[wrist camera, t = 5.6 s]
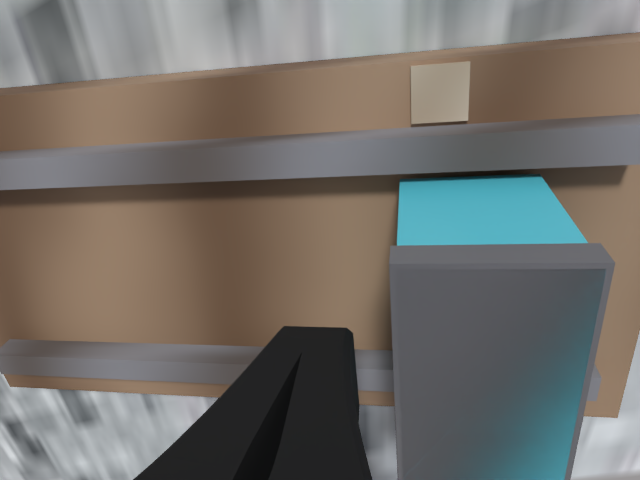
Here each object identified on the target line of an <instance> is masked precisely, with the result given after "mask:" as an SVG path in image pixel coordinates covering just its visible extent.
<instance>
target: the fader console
mask: <svg viewBox="0 0 640 480" xmlns="http://www.w3.org/2000/svg"><path fill="white" fill-rule="evenodd" d="M521 174H540V175H541V176H542V178H543V179H544V181H545V182H546V183H547V185H548V186H549V188H550V189H551V190H552V192H553V193H554V195H555V196H556V198H557V199H558V200H559V202H560V203H561V205H562V206H563V208H564V209H565V210H566V212H567V213H568V215H569V216H570V218H571V219H572V220H573V222H574V223H575V225H576V226H577V228H578V229H579V230H580V232H581V233H582V235H583V236H584V237H585V239H586V240H587V242H588V243H601V244H602V246H603V247H604V248H605V250H606V251H607V252H608V254H609V255H610V256H611V258H612V259H613V260H614V262H615V267H614V272H613V277H612V282H611V286H610V291H609V296H608V301H607V306H606V310H605V315H604V320H603V325H602V329H601V334H600V339H599V344H598V349H597V353H596V358H595V363H594V368H593V373H592V377H591V382H590V387H589V392H588V397H587V401H586V406H585V411H584V416H591V417H611V418H617V417H618V413H619V409H620V405H621V401H622V398H623V394H624V390H625V386H626V382H627V378H628V374H629V370H630V366H631V362H632V358H633V354H634V350H635V346H636V342H637V339H638V335H639V331H640V32H638V33H627V34H616V35H604V36H593V37H581V38H570V39H559V40H547V41H536V42H524V43H513V44H501V45H490V46H479V47H467V48H456V49H444V50H433V51H422V52H410V53H399V54H387V55H376V56H365V57H353V58H342V59H330V60H319V61H308V62H296V63H285V64H273V65H262V66H250V67H239V68H228V69H216V70H205V71H193V72H182V73H171V74H159V75H148V76H136V77H125V78H114V79H102V80H91V81H79V82H68V83H57V84H45V85H34V86H22V87H11V88H0V372H1V374H4V376H5V378H6V380H7V382H8V384H9V385H10V387H28V388H47V389H67V390H86V391H106V392H125V393H144V394H164V395H183V396H203V397H220V396H221V395H222V394H223V393H224V392H225V391H226V390H227V389H228V388H229V387H230V386H231V384H232V383H233V382H234V381H235V380H236V379H237V378H238V377H239V376H240V375H241V374H242V372H243V371H244V370H245V369H246V368H247V367H248V366H249V365H250V363H251V362H252V361H253V360H254V359H255V358H256V357H257V355H258V354H259V353H260V352H261V351H262V350H263V349H264V347H265V346H266V345H267V344H268V343H269V342H270V340H271V339H272V338H273V337H274V336H275V335H276V334H277V332H278V331H279V330H280V329H281V328H282V327H284V326H303V327H342V328H348V329H349V330H350V331H351V332H353V338H354V349H355V361H356V372H357V384H358V395H359V405H378V406H395V399H394V374H393V349H392V325H391V300H390V275H389V257H390V246H397V230H398V208H399V186H400V179H416V178H442V177H468V176H494V175H521Z"/></svg>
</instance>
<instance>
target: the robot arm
mask: <svg viewBox="0 0 640 480" xmlns="http://www.w3.org/2000/svg"><path fill="white" fill-rule="evenodd" d="M358 420H359V395H358V384H357V372H356V361H355V349H354V338H353V332H351V331H350V330H349V329H348V328H342V327H303V326H284V327H282V328H281V329H280V330H279V331H278V332H277V334H276V335H275V336H274V337H273V338H272V339H271V340H270V342H269V343H268V344H267V345H266V346H265V347H264V349H263V350H262V351H261V352H260V353H259V354H258V355H257V357H256V358H255V359H254V360H253V361H252V362H251V363H250V365H249V366H248V367H247V368H246V369H245V370H244V371H243V372H242V374H241V375H240V376H239V377H238V378H237V379H236V380H235V381H234V382H233V383H232V384H231V386H230V387H229V388H228V389H227V390H226V391H225V392H224V393H223V394H222V395H221V396H220V397H219V398H218V400H217V401H216V402H215V403H214V404H213V405H212V406H211V407H210V408H209V409H208V410H207V411H206V412H205V413H204V414H203V415H202V416H201V417H200V418H199V419H198V420H197V421H196V422H195V423H194V424H193V425H192V426H191V427H190V428H189V429H188V430H187V431H186V432H185V433H184V434H183V435H182V436H181V437H180V438H179V439H178V440H177V441H176V442H175V443H173V444H172V445H171V446H170V447H169V448H168V449H167V450H166V451H165V452H164V453H163V454H162V455H161V456H160V457H158V458H157V459H156V460H155V461H154V462H153V463H152V464H151V465H150V466H148V467H147V468H146V469H145V470H144V471H143V472H142V473H141V474H139V475H138V476H137V477H136V478H135V479H133V480H372V477H371V473H370V469H369V466H368V462H367V458H366V454H365V450H364V446H363V442H362V438H361V433H360V429H359V424H358Z"/></svg>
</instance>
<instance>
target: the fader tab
mask: <svg viewBox="0 0 640 480" xmlns="http://www.w3.org/2000/svg"><path fill="white" fill-rule="evenodd" d="M614 267H615V262H614V260H613V259H612V258H611V256H610V255H609V254H608V252H607V251H606V250H605V248H604V247H603V246H602V244H601V243H588V242H587V240H586V239H585V237H584V236H583V235H582V233H581V232H580V230H579V229H578V228H577V226H576V225H575V223H574V222H573V220H572V219H571V218H570V216H569V215H568V213H567V212H566V210H565V209H564V208H563V206H562V205H561V203H560V202H559V200H558V199H557V198H556V196H555V195H554V193H553V192H552V190H551V189H550V188H549V186H548V185H547V183H546V182H545V181H544V179H543V178H542V176H541V175H540V174H521V175H494V176H468V177H442V178H416V179H400V186H399V208H398V230H397V246H390V257H389V275H390V300H391V325H392V349H393V374H394V399H395V423H396V448H397V473H398V480H570V478H571V473H572V468H573V464H574V459H575V454H576V449H577V444H578V440H579V435H580V430H581V425H582V420H583V416H584V411H585V406H586V401H587V397H588V392H589V387H590V382H591V377H592V373H593V368H594V363H595V358H596V353H597V349H598V344H599V339H600V334H601V329H602V325H603V320H604V315H605V310H606V306H607V301H608V296H609V291H610V286H611V282H612V277H613V272H614Z"/></svg>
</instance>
